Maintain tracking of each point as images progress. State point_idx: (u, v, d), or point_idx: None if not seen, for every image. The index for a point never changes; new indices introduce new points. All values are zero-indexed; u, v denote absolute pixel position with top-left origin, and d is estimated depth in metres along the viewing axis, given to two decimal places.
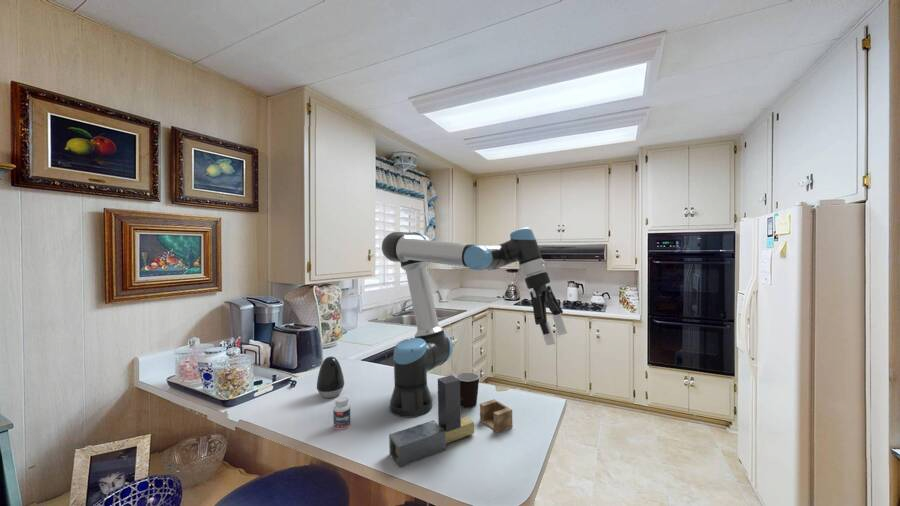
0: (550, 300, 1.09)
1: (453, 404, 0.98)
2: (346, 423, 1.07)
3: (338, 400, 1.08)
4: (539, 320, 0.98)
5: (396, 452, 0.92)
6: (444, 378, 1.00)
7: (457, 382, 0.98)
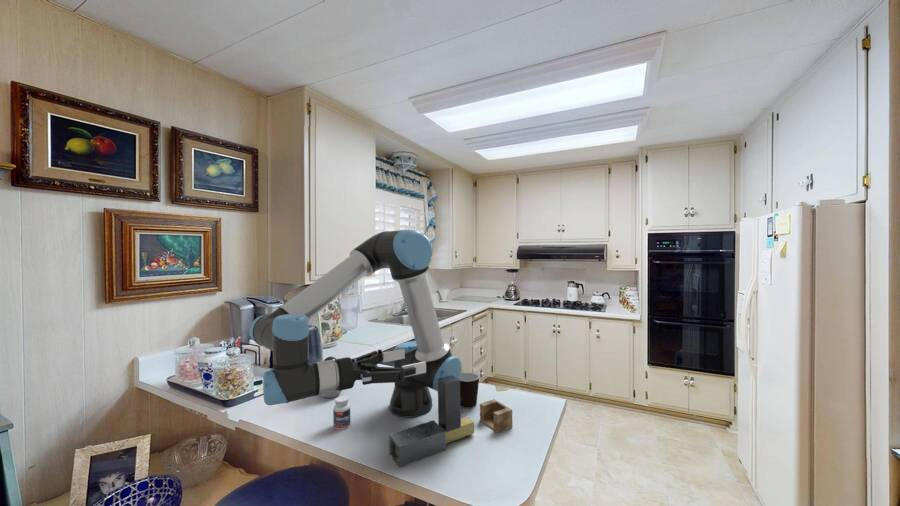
0: None
1: (453, 404, 0.98)
2: (346, 423, 1.07)
3: (338, 400, 1.08)
4: None
5: (396, 452, 0.92)
6: (444, 378, 1.00)
7: (457, 382, 0.98)
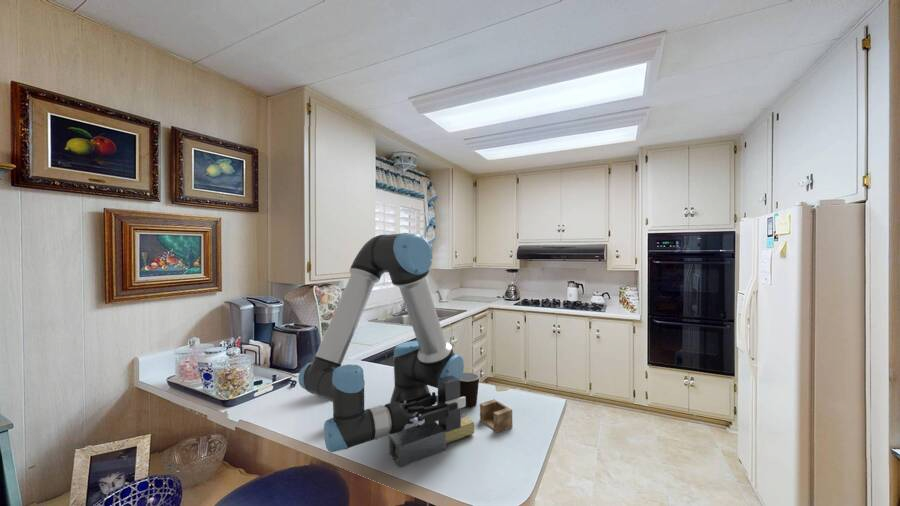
0: None
1: None
2: None
3: None
4: None
5: (396, 452, 0.92)
6: (444, 378, 1.00)
7: (457, 382, 0.98)
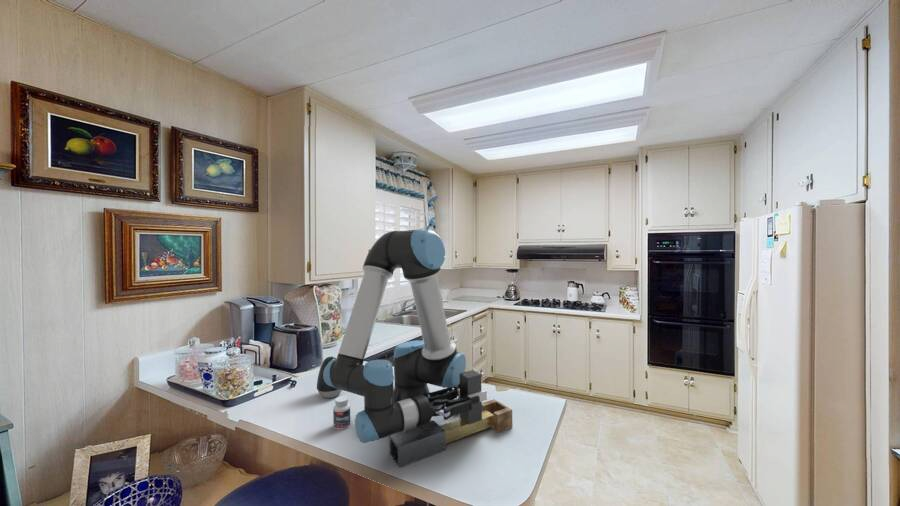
0: None
1: None
2: (346, 423, 1.07)
3: (338, 400, 1.08)
4: None
5: None
6: (466, 373, 1.04)
7: (478, 376, 1.02)
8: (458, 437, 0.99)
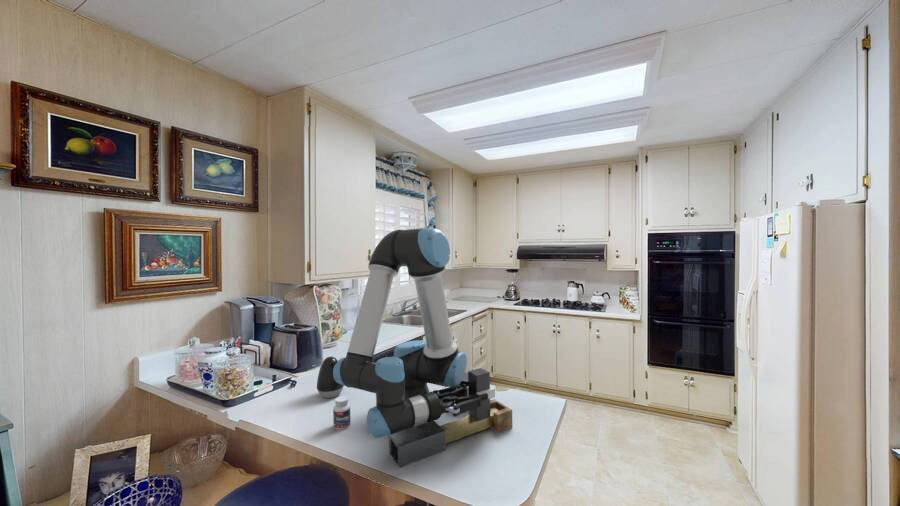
0: None
1: None
2: (346, 423, 1.07)
3: (338, 400, 1.08)
4: None
5: None
6: (474, 370, 1.06)
7: (487, 374, 1.04)
8: (467, 434, 1.01)
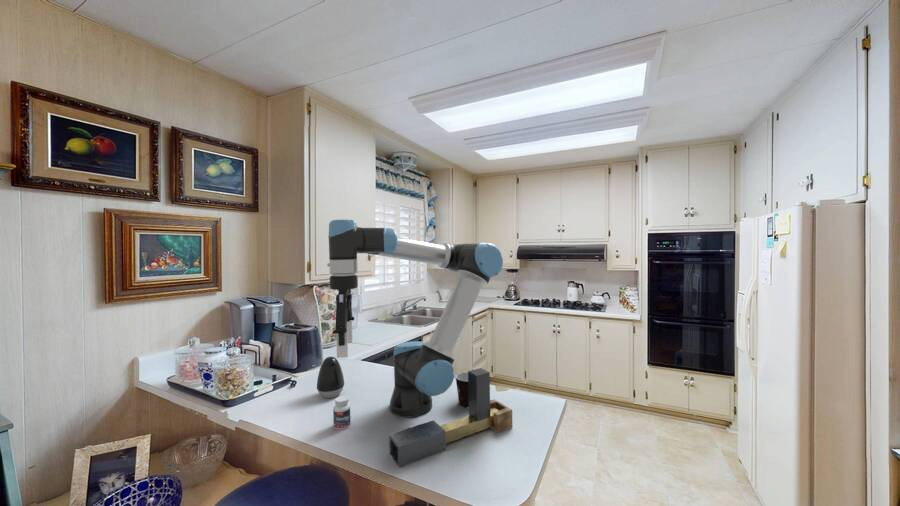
0: None
1: (483, 394, 1.03)
2: (346, 423, 1.07)
3: (338, 400, 1.08)
4: None
5: None
6: (474, 370, 1.06)
7: (487, 374, 1.04)
8: (467, 434, 1.01)
